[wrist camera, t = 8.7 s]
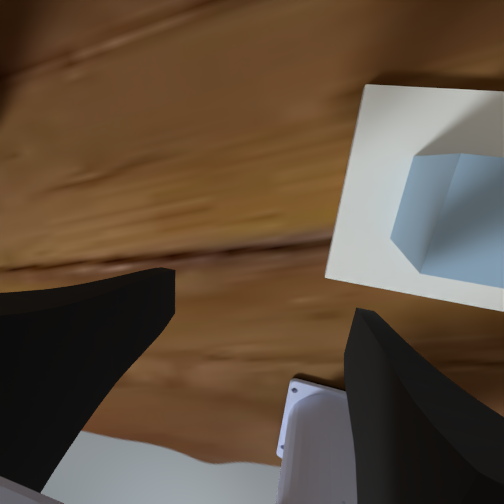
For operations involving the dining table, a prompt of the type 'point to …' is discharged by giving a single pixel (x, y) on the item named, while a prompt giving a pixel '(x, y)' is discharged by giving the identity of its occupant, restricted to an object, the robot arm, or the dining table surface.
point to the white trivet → (394, 179)
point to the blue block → (454, 218)
